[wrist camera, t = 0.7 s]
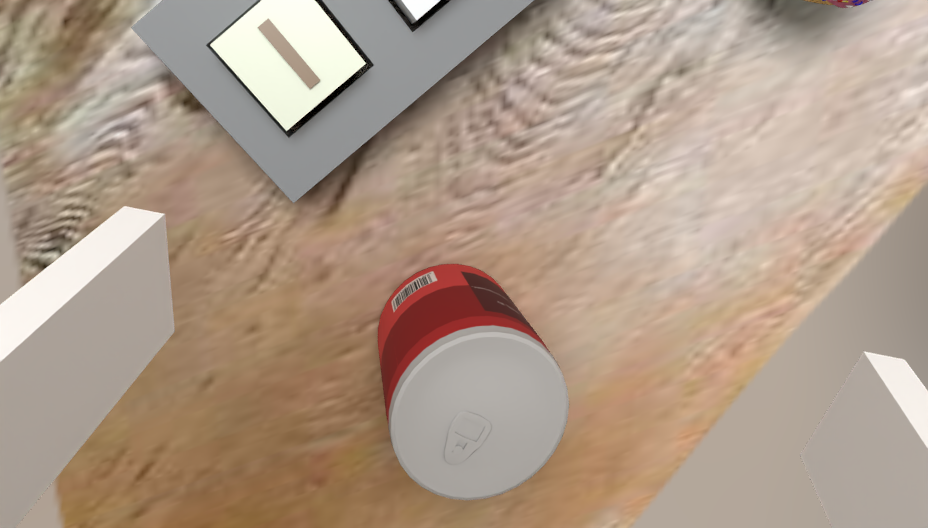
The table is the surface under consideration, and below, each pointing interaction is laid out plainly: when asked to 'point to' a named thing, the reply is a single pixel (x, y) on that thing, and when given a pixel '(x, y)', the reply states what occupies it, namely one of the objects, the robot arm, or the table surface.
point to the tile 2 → (415, 8)
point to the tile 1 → (288, 56)
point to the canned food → (467, 385)
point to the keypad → (354, 109)
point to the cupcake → (840, 2)
